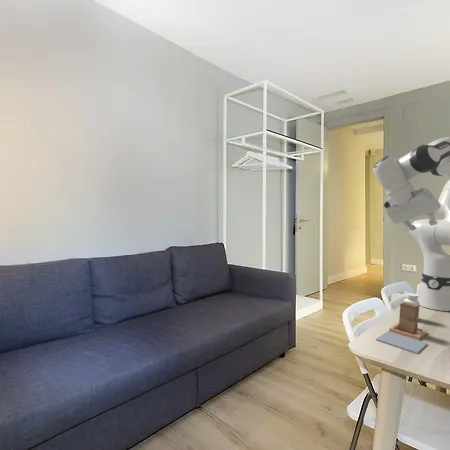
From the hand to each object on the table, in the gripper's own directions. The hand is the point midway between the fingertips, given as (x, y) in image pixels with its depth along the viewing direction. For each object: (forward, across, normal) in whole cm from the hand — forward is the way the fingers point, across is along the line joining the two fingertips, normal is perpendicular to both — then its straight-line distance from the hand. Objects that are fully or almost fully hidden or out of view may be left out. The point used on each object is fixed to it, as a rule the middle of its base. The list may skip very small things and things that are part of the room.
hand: (423, 227), depth 116 cm
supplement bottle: (+30, +15, +15) cm, 37 cm away
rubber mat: (+25, -3, +36) cm, 44 cm away
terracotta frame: (+28, +4, +27) cm, 39 cm away
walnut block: (+28, +4, +27) cm, 39 cm away
